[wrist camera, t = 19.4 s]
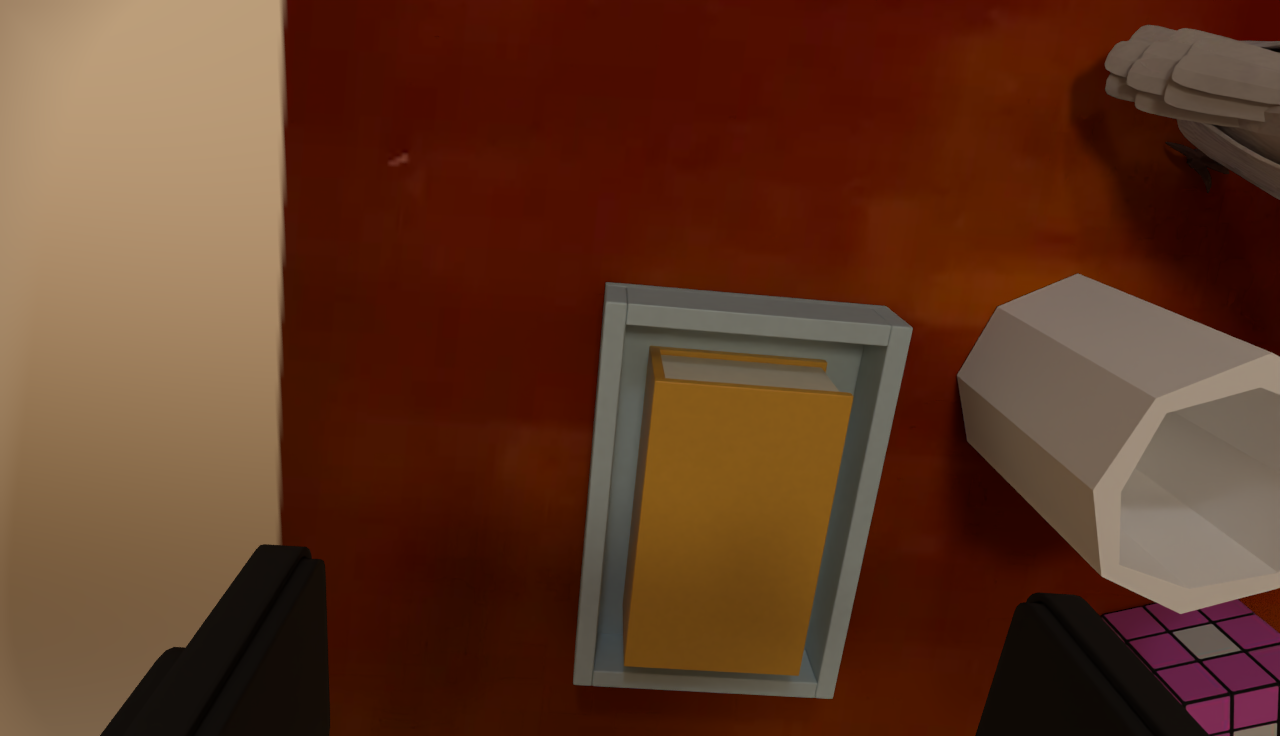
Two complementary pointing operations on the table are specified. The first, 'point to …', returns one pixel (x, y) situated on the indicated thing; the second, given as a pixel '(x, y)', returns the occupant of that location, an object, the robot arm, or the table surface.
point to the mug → (1134, 438)
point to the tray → (632, 322)
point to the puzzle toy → (1210, 663)
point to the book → (730, 509)
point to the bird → (1207, 97)
